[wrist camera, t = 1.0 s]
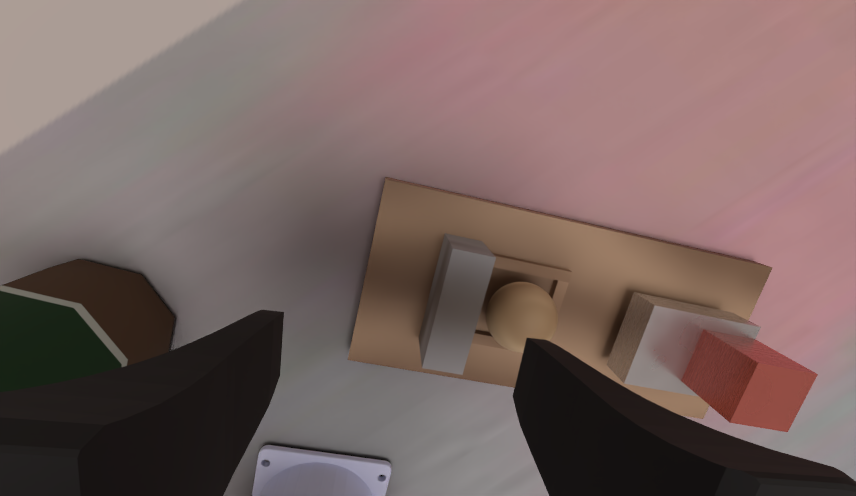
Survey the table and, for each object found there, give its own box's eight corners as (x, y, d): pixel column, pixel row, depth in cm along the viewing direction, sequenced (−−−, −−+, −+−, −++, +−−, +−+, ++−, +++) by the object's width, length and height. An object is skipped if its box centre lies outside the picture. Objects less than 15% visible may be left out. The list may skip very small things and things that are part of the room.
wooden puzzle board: (689, 406, 26) (743, 455, 22) (350, 348, 23) (340, 392, 19) (754, 261, 24) (827, 286, 20) (385, 176, 21) (383, 186, 17)
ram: (701, 381, 23) (780, 445, 19) (606, 364, 23) (663, 425, 18) (732, 312, 22) (825, 360, 18) (633, 291, 22) (702, 336, 17)
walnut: (532, 337, 23) (556, 372, 19) (472, 326, 22) (486, 360, 19) (551, 279, 22) (579, 305, 18) (489, 266, 21) (507, 290, 18)
